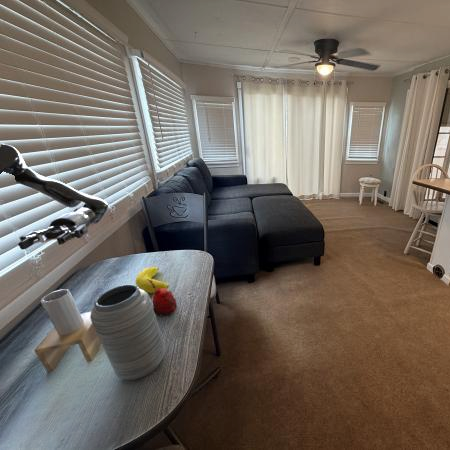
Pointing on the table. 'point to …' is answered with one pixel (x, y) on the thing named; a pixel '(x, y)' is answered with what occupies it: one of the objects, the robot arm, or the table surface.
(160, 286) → the fruit
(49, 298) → the white cylindrical cup
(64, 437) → the table surface
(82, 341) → the small wooden bench
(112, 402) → the table surface
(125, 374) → the vase
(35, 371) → the table surface
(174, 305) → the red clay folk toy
